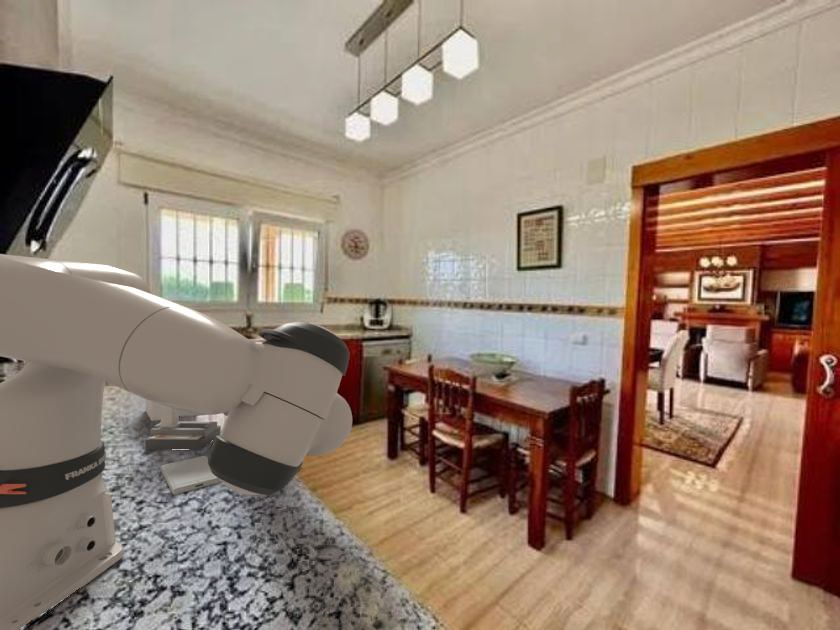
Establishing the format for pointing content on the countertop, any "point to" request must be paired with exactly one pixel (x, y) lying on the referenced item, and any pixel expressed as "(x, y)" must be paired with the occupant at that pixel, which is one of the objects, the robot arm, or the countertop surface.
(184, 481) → the hard drive
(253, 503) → the countertop surface
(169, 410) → the grey and orange bar
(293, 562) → the countertop surface
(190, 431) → the switch base
